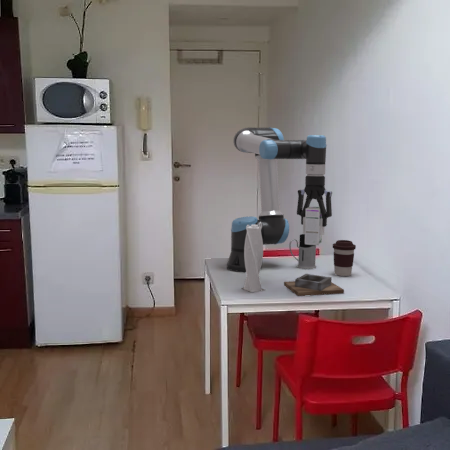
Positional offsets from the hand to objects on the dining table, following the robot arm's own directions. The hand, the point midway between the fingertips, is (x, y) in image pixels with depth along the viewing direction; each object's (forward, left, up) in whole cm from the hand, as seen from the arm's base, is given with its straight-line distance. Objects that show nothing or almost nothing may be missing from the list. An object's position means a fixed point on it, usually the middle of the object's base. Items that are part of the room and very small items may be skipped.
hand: (313, 233), depth 225 cm
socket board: (+1, 0, -22) cm, 22 cm away
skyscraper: (-3, -23, -23) cm, 33 cm away
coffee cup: (-19, +23, -23) cm, 38 cm away
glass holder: (-35, +10, -23) cm, 43 cm away
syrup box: (0, 0, -4) cm, 4 cm away
